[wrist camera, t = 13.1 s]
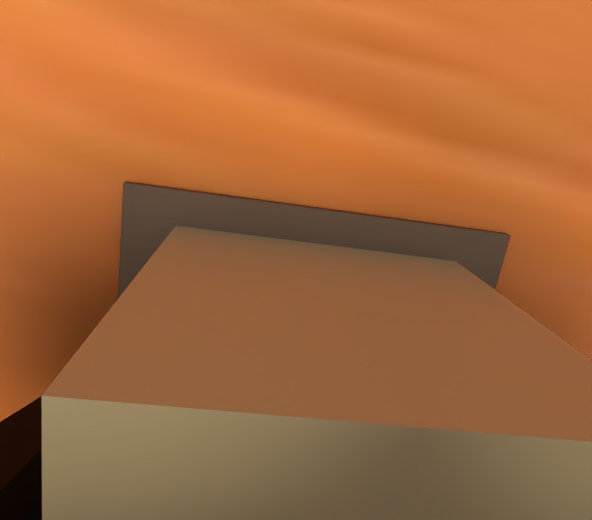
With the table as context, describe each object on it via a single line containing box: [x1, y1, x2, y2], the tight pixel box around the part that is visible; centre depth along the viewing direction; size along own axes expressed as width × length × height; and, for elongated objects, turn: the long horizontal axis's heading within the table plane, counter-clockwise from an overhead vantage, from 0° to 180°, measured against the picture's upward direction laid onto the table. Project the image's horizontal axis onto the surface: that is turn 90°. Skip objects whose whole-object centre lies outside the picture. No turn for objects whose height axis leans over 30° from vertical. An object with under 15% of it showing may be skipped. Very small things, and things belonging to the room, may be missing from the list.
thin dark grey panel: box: [118, 182, 510, 298], centre depth 11 cm, size 8×8×1 cm
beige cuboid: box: [42, 226, 592, 520], centre depth 8 cm, size 7×6×6 cm
